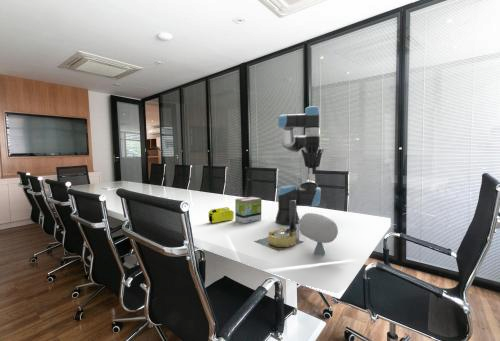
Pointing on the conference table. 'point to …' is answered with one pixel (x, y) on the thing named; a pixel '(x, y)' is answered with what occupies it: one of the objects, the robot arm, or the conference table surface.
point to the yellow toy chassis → (220, 215)
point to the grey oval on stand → (318, 230)
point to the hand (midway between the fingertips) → (312, 180)
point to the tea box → (247, 209)
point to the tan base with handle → (283, 240)
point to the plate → (266, 243)
